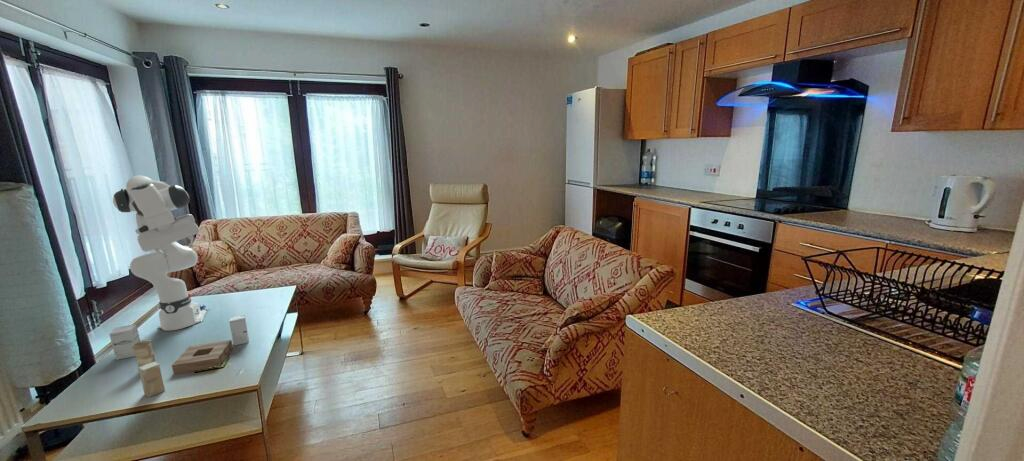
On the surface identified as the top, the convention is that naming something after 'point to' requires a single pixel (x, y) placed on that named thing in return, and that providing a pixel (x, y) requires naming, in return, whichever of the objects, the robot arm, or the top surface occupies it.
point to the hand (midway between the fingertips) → (179, 252)
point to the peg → (144, 352)
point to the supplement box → (124, 340)
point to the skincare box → (239, 330)
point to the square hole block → (202, 356)
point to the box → (151, 379)
